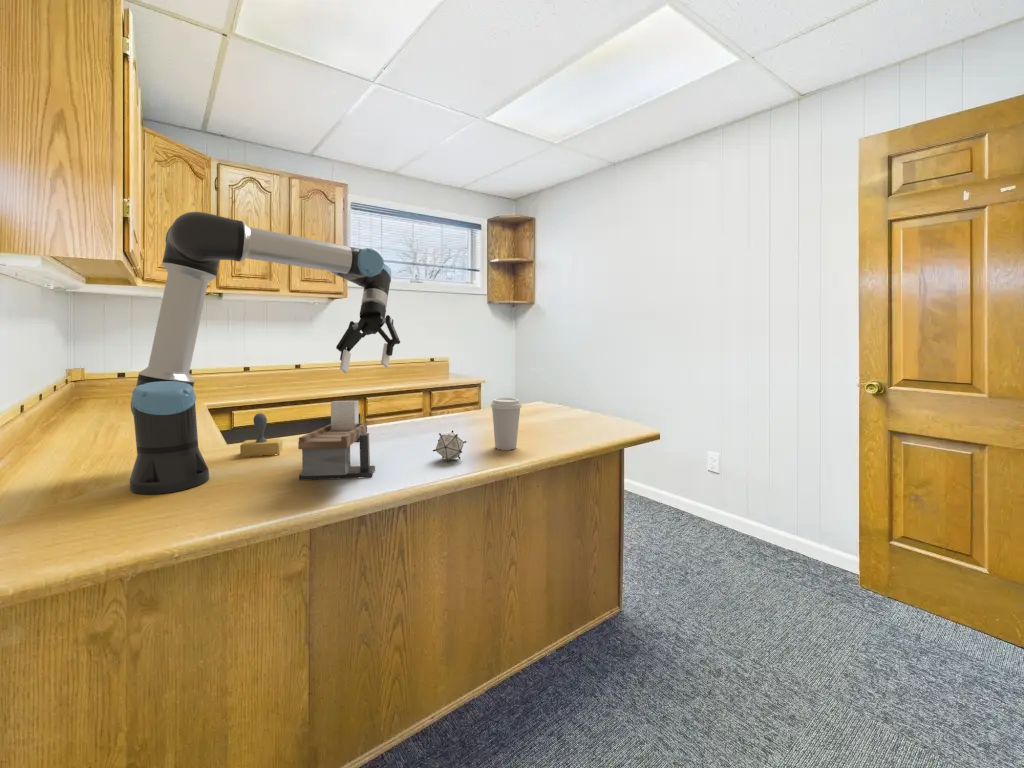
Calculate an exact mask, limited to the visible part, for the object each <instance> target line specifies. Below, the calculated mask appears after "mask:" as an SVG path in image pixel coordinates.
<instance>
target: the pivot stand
mask: <svg viewBox="0 0 1024 768" xmlns="http://www.w3.org/2000/svg"><path fill="white" fill-rule="evenodd" d="M370 453H371V452H370V432H367V433H361V434H360V435H359V465H353V466H352V465H350V470H349V471H348V472H347V474H346V475H319V476H303V472H302V471H301V473H300V474H299V475H298V480H299V479H311V480H320V479H319V478H340V479H360V478H359V477H369V478H373V476H374V474H375V472H374V471H376V466H375V465H371V461H370V460H371V458H370V455H371V454H370ZM373 473H374V474H373Z"/></svg>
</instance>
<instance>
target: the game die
mask: <svg viewBox="0 0 1024 768" xmlns="http://www.w3.org/2000/svg"><path fill="white" fill-rule="evenodd" d="M438 435H439V439H438V440H437V444H436V447H435V449H433V450H432V452H436V453H438V454H439V455H440V456H441V457H442V459H445V460H446V461H445V462H446V464H448V462H449V461H450V460H453V459H456V458H458V459H459V460H461V457H460V455H461V454H462V453H463V447H464V444H466V443H467V441H466V440H464V441H463V440H462V439H461V438H460V437H458V436H459V434H457V433H454V430H453V429H452V430H451V432H449V433H445V434H442V433H440V432H439V434H438Z"/></svg>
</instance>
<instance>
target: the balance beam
mask: <svg viewBox="0 0 1024 768" xmlns="http://www.w3.org/2000/svg"><path fill="white" fill-rule="evenodd" d="M361 433H368V424H367V423H362V422H359V426H358V427H356V428H355V429H353V430H342V431H331V423H329V424H328V425H325V426H323V427H321V428H318V429H316V430H313V431H311V432H308V433H306V434H303V436H300V437H298V441H297V443H298V444H297V445H298V446H297V447H298V450H301V456H302V457H301V459H302V460H301V461H302V462H301V463H302V464H301V465H302V468H301V469H302V471H301V473H302V472H303V476H319V475H346V474H347V472H348V471H349V470H350V466H351V446H352V444H354V443H355V444H356V443H360V441H359V435H360V434H361Z"/></svg>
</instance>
